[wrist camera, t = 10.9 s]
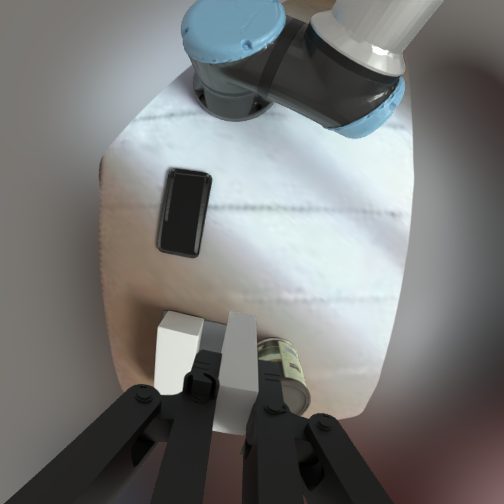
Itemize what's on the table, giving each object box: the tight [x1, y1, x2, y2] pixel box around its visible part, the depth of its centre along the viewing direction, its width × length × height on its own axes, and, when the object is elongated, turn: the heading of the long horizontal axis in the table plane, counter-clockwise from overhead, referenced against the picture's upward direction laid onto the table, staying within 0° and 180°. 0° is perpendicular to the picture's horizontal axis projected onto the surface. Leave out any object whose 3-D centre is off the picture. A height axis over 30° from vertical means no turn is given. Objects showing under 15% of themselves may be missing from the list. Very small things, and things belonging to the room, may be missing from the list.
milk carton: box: [154, 311, 204, 395], centre depth 50 cm, size 7×7×19 cm
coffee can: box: [257, 338, 311, 416], centre depth 48 cm, size 10×10×14 cm
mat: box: [163, 310, 227, 353], centre depth 54 cm, size 16×16×1 cm
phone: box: [158, 169, 212, 258], centre depth 48 cm, size 8×1×15 cm
